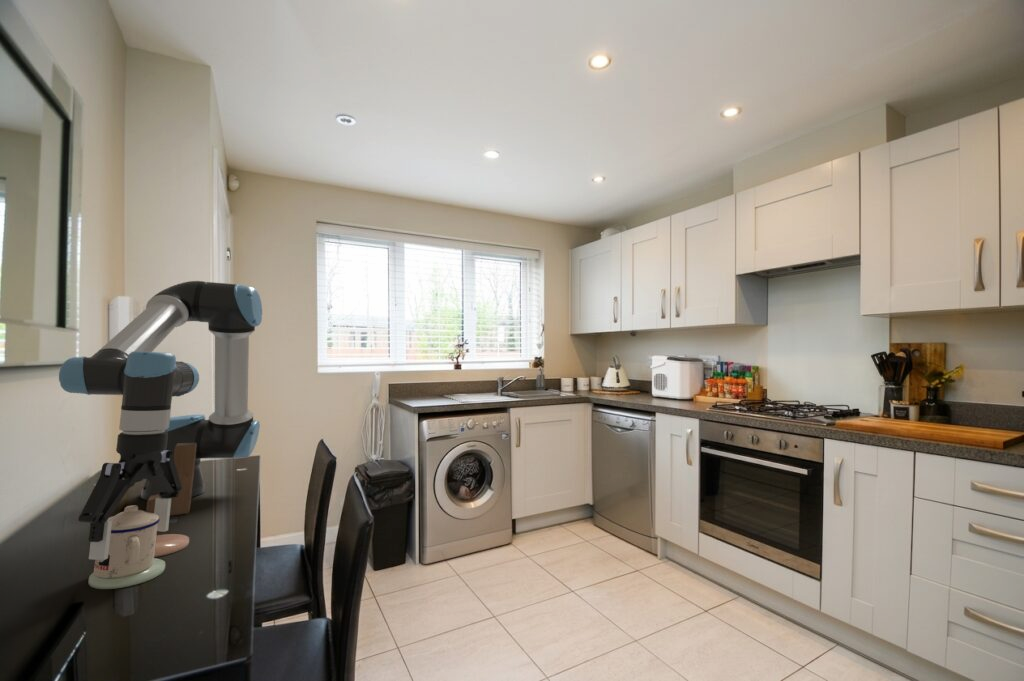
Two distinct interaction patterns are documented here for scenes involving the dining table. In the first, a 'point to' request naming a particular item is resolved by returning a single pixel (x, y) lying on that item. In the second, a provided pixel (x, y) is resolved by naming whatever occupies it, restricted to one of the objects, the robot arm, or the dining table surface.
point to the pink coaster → (170, 544)
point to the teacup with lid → (129, 544)
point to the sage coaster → (128, 577)
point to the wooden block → (185, 469)
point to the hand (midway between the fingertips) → (131, 543)
